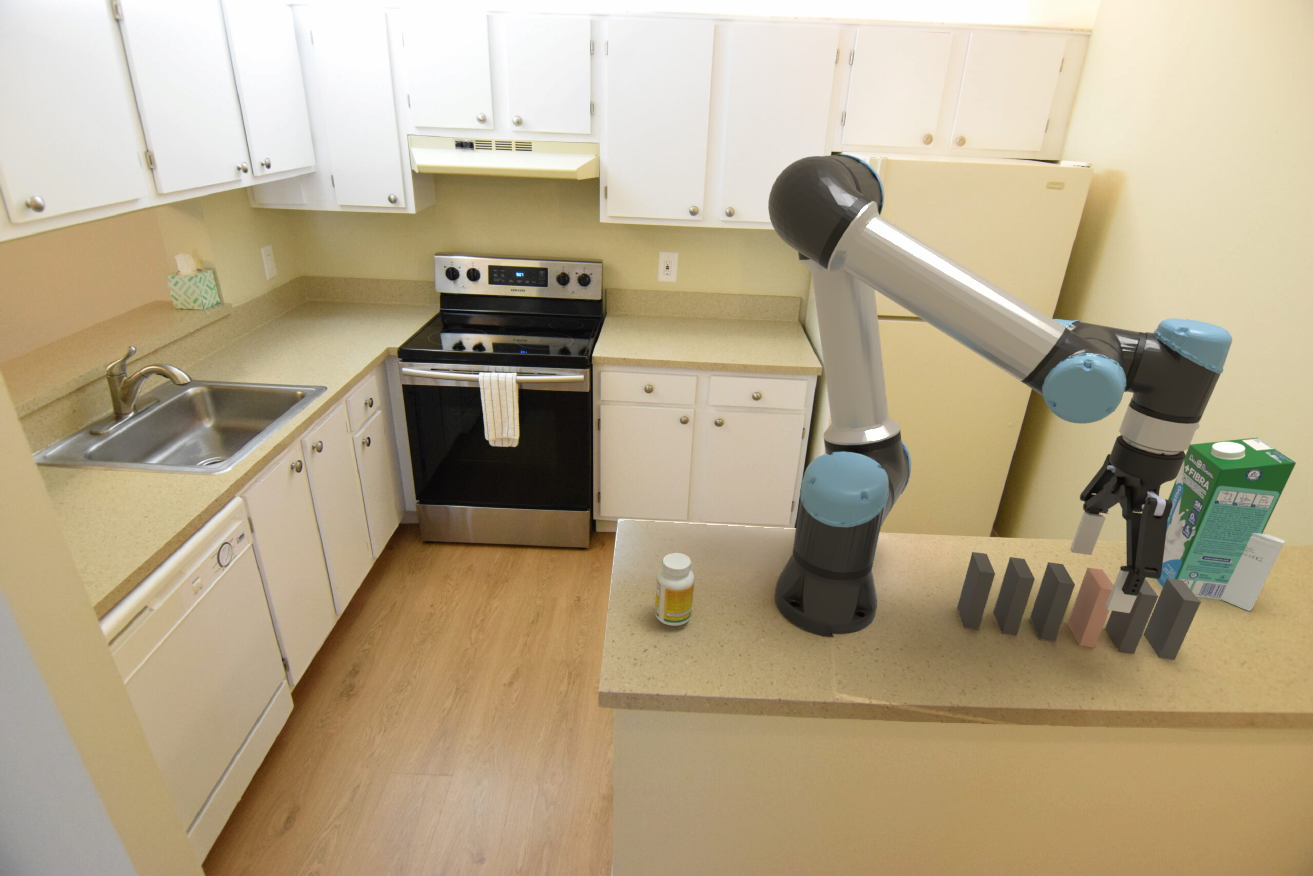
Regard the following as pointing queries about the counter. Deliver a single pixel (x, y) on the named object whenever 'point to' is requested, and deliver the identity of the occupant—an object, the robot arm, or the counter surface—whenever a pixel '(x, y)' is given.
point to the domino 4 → (1090, 607)
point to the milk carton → (1220, 510)
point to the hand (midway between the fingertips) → (1097, 579)
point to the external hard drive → (1252, 570)
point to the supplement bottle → (674, 590)
